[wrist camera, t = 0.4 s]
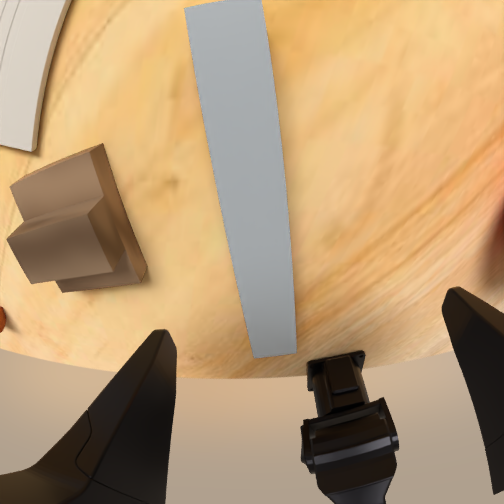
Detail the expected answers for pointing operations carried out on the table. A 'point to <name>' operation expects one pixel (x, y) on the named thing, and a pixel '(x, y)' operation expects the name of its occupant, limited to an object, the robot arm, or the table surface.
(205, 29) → the slate stick
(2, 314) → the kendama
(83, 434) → the robot arm
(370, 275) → the table surface
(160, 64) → the table surface
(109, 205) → the ridge block
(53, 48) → the baseboard molding
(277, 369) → the table surface
